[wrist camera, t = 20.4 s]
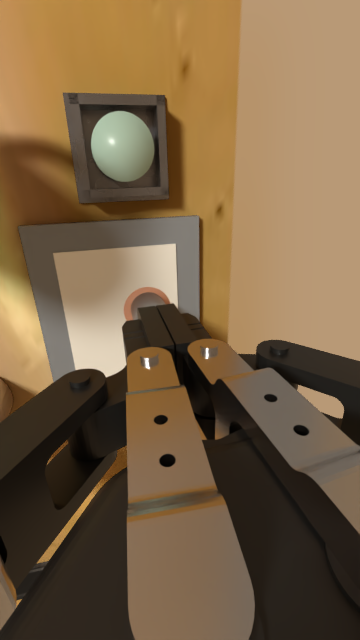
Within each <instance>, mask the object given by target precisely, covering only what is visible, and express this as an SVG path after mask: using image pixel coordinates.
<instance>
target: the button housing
mask: <svg viewBox="0 0 360 640" xmlns="http://www.w3.org/2000/svg"><path fill="white" fill-rule="evenodd" d="M63 97H64V104H65V110H66V117H67V124H68V130H69V137H70V144H71V151H72V157H73V164H74V171H75V177H76V184H77V191H78V197H79V203H95V202H117V201H139V200H160V199H169V187H168V162H167V138H166V113H165V95H138V94H95V93H63ZM115 111H125V112H129V113H132V114H134V115H135V116H137V117H138V118H140V119H141V120H142V121H143V122H144V123H145V124H146V126H147V127H148V129H149V131H150V133H151V135H152V138H153V142H154V157H153V161H152V164H151V166H150V168H149V169H148V171H147V172H146V173H145V174H144V175H143V176H142V177H140V178H139V179H136V180H134V181H129V182H120V181H116V180H113V179H111V178H109V177H107V176H106V175H105V174H104V173H103V172H102V171H101V170H100V169H99V168H98V166H97V165H96V163H95V161H94V158H93V155H92V149H91V138H92V133H93V130H94V128H95V126H96V124H97V123H98V121H99V120H100V119H101V118H102V117H103V116H105V115H106V114H108V113H111V112H115Z"/></svg>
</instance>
